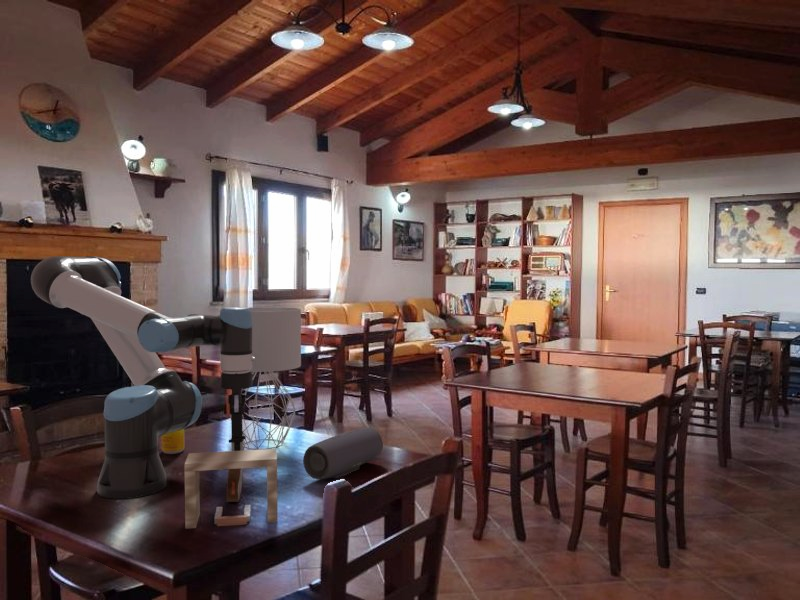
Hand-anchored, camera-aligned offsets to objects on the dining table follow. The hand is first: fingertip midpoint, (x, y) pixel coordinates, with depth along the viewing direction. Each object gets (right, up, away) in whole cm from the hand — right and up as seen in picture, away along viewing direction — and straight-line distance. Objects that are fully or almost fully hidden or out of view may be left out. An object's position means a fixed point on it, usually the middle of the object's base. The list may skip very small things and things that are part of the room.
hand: (237, 467), depth 162 cm
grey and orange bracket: (+5, -4, -24) cm, 25 cm away
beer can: (-25, -2, +27) cm, 37 cm away
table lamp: (-1, -2, +35) cm, 35 cm away
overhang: (+5, -4, -24) cm, 25 cm away
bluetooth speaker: (+25, -3, +7) cm, 27 cm away
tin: (+2, -4, -10) cm, 11 cm away
